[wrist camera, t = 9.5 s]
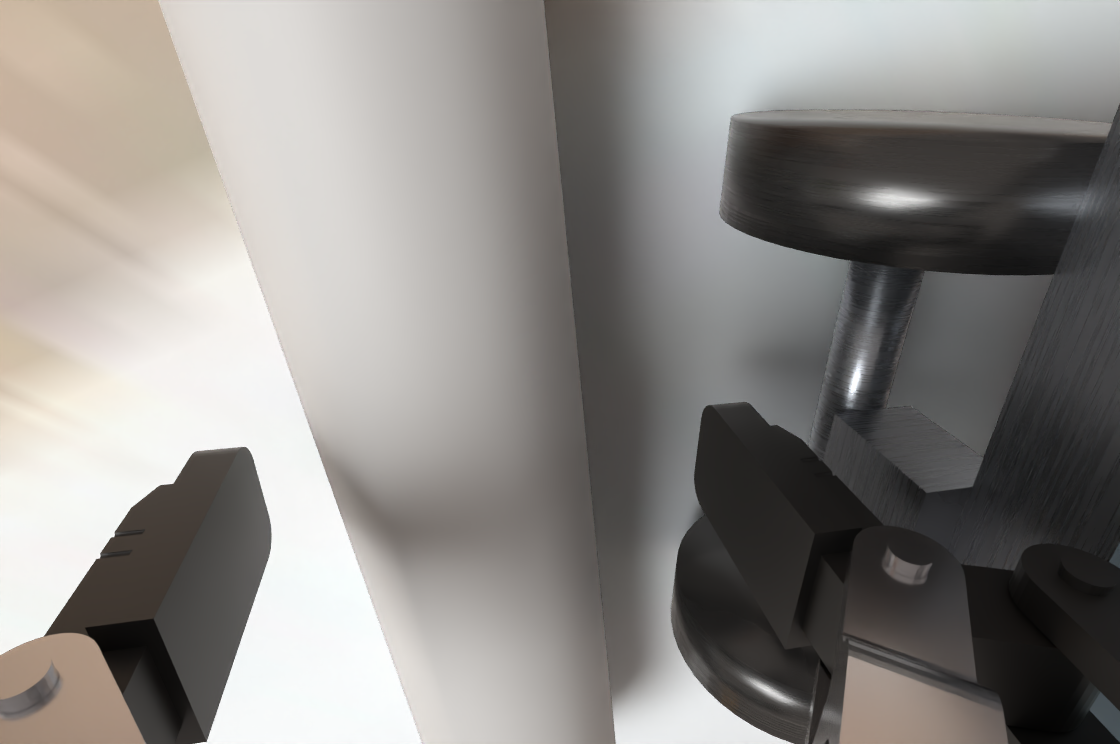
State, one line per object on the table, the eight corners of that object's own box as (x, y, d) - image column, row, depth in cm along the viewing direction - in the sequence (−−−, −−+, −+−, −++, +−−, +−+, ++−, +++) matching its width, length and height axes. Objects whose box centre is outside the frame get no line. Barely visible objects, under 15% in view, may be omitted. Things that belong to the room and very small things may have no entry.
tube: (666, 823, 17) (609, -843, 5) (487, 957, 15) (-403, -1416, 3) (567, 674, 21) (408, -408, 9) (418, 762, 19) (-46, -498, 7)
